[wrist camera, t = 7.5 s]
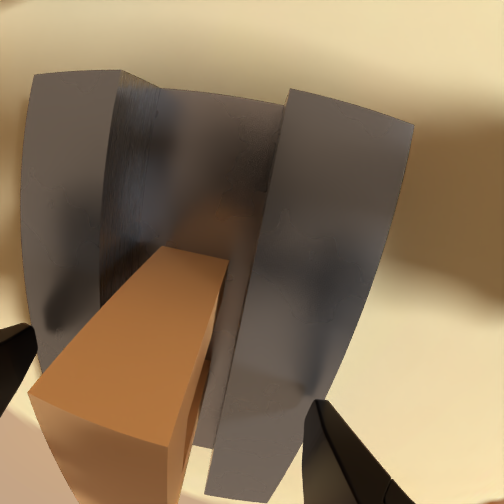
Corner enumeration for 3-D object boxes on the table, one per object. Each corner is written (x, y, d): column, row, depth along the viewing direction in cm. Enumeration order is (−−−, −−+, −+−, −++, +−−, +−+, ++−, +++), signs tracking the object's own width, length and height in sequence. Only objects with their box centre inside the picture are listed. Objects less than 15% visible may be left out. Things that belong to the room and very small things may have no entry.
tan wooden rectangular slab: (229, 260, 11) (167, 446, 4) (206, 387, 13) (168, 545, 6) (161, 245, 11) (27, 392, 4) (153, 374, 13) (89, 519, 6)
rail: (367, 130, 10) (414, 124, 6) (268, 446, 15) (267, 503, 11) (96, 88, 10) (34, 74, 6) (95, 404, 15) (68, 451, 11)
